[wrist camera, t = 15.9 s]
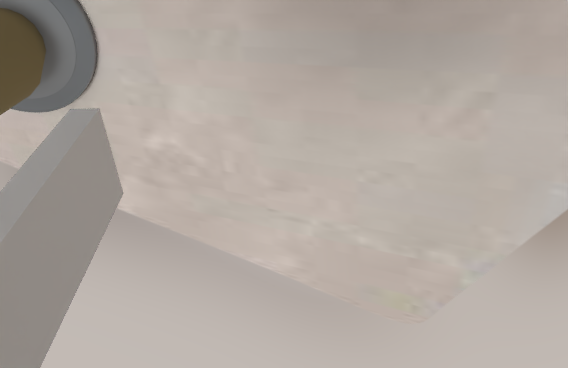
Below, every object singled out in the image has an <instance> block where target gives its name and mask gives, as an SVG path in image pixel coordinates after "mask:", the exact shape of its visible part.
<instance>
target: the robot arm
mask: <svg viewBox="0 0 568 368" xmlns="http://www.w3.org/2000/svg"><path fill="white" fill-rule="evenodd" d="M122 195H123V190H122V187H121V183H120V180H119V176H118V172H117V169H116V165H115V162H114V158H113V155H112V151H111V148H110V144H109V141H108V137H107V134H106V130H105V127H104V123H103V120H102V116H101V113H100V109H70V110H69V111H68V112H67V114H66V115H65V116H64V117H63V118H62V120H61V121H60V122H59V123H58V124H57V125H56V127H55V128H54V129H53V130H52V131H51V132H50V134H49V135H48V136H47V137H46V138H45V140H44V141H43V142H42V143H41V144H40V145H39V147H38V148H37V149H36V150H35V151H34V153H33V154H32V155H31V156H30V157H29V158H28V160H27V161H26V162H25V163H24V164H23V165H22V167H21V168H20V169H19V170H18V171H17V173H16V174H15V175H14V176H13V177H12V178H11V180H10V181H9V182H8V183H7V184H6V186H5V187H4V188H3V189H2V190H1V191H0V368H40V367H41V365H42V362H43V360H44V358H45V356H46V354H47V352H48V350H49V348H50V346H51V344H52V341H53V339H54V337H55V335H56V333H57V331H58V329H59V327H60V325H61V323H62V321H63V318H64V316H65V314H66V312H67V310H68V308H69V306H70V304H71V302H72V300H73V298H74V296H75V293H76V291H77V289H78V287H79V285H80V283H81V281H82V278H83V277H84V275H85V273H86V270H87V268H88V266H89V264H90V262H91V260H92V258H93V256H94V254H95V252H96V250H97V247H98V245H99V243H100V241H101V239H102V237H103V235H104V233H105V231H106V229H107V227H108V224H109V222H110V220H111V218H112V216H113V214H114V212H115V210H116V208H117V206H118V203H119V201H120V199H121V197H122Z"/></svg>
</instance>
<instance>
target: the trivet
mask: <svg viewBox="0 0 568 368" xmlns="http://www.w3.org/2000/svg"><path fill="white" fill-rule="evenodd" d="M0 8H6V9H10V10H12V11H14V12H17V13H19V14H22V15H23V16H24V17H25V18H27V19H28V20H29V21H30V22H32V23H33V24H34V25H35V27H36V28H37V30H38V31H39V33H40V34H41V35H42V37H43V40H44V44H45V48H46V54H45V60H44V65H43V70H42V75H41V80H40V84H39V85H38V87H37V88H36V89H35V90H34V91H33V93H32V94H31V95H30V96H29V97H27V98H25V99H24V100H22V101H21V102H19V103H18V104H16V105H15V106H13V107H12V108H10V109H14V110H18V111H25V112H49V111H53V110H57V109H60V108H62V107H65V106H67V105H68V104H70V103H72V102H73V101H74V100H75V99H77V98H78V97H79V96H80V95H81V93H82V92H83V91H84V90H85V89H86V88H87V86H88V85H89V83H90V81H91V80H92V77H93V75H94V72H95V68H96V64H97V45H96V40H95V35H94V32H93V29H92V26H91V23H90V21H89V19H88V17H87V15H86V13H85V11H84V9H83V8H82V6H81V5H80V3H79V2H78V0H0Z"/></svg>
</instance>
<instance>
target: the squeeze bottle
mask: <svg viewBox="0 0 568 368" xmlns="http://www.w3.org/2000/svg"><path fill="white" fill-rule="evenodd" d="M45 54H46V48H45V44H44V40H43V37H42V35H41V34H40V33H39V31H38V30H37V28H36V27H35V25H34V24H33V23H32V22H30V21H29V20H28V19H27V18H25V17H24V16H23V15H22V14H19V13H17V12H14V11H12V10H10V9H6V8H0V115H1V114H2V113H4V112H6V111H7V110H9V109H10V108H12V107H13V106H15V105H16V104H18V103H19V102H21V101H22V100H24V99H25V98H27V97H29V96H30V95H31V94H32V93H33V91H34V90H35V89H36V88H37V87H38V85H39V84H40V80H41V75H42V70H43V65H44V60H45Z"/></svg>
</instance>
